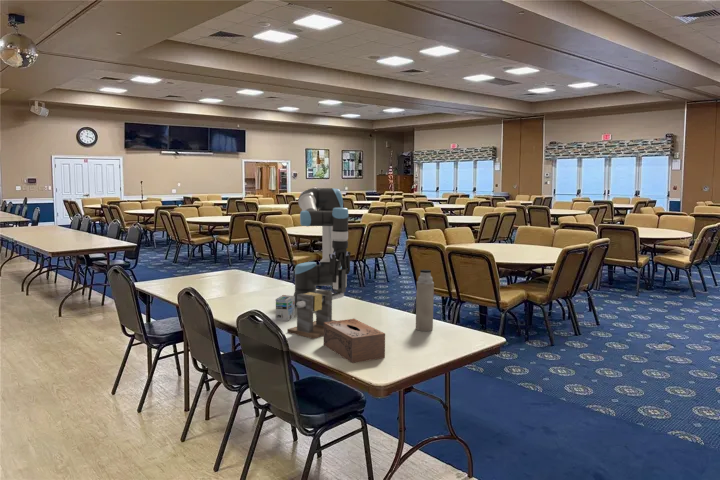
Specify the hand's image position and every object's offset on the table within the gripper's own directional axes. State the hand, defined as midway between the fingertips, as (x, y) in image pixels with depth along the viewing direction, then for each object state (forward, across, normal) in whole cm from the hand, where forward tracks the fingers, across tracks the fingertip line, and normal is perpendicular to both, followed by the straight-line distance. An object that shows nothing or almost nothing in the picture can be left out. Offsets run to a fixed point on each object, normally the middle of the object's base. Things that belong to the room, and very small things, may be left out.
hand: (339, 288), depth 266 cm
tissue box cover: (+18, +31, +32) cm, 48 cm away
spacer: (+7, +20, 0) cm, 21 cm away
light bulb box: (+18, +10, -27) cm, 34 cm away
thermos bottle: (+18, -18, +37) cm, 45 cm away
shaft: (+5, +13, 0) cm, 14 cm away
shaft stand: (+17, +14, 0) cm, 23 cm away
